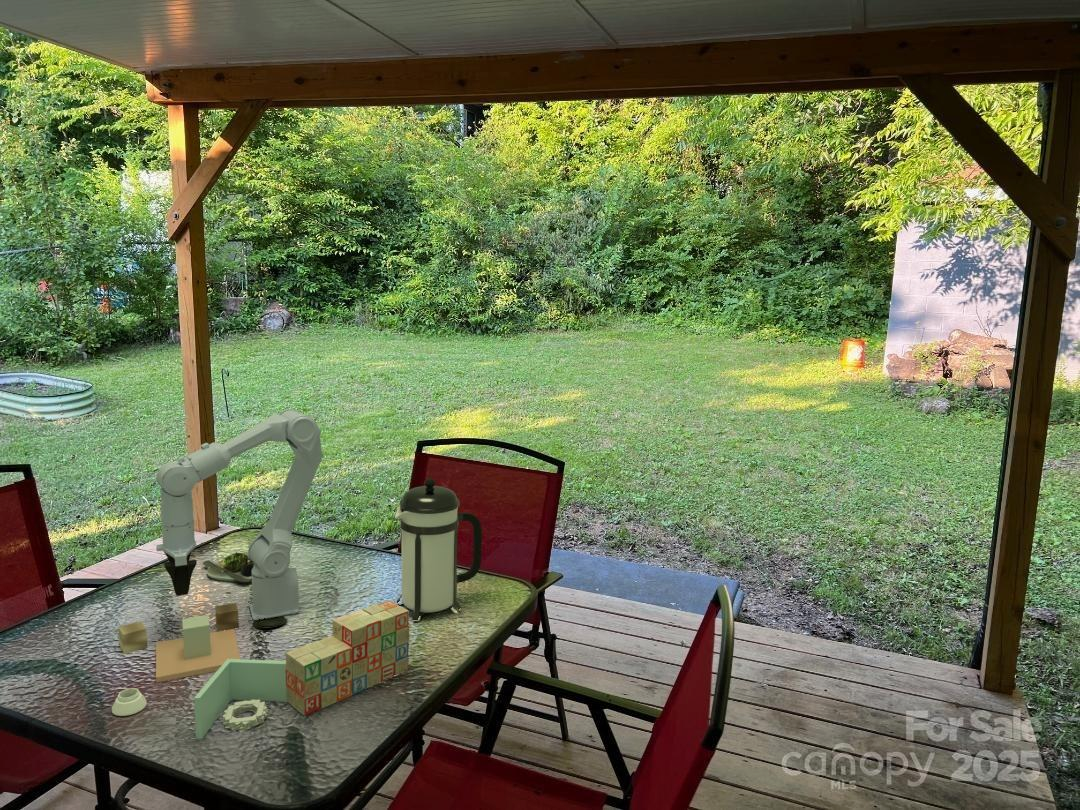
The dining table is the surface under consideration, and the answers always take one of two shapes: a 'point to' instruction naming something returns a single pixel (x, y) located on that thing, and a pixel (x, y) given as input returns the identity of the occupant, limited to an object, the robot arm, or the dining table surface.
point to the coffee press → (433, 548)
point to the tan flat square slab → (176, 667)
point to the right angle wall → (240, 693)
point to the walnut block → (226, 617)
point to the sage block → (196, 637)
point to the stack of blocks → (349, 657)
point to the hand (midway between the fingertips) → (181, 587)
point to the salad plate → (232, 568)
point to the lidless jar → (128, 702)
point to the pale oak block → (132, 637)
